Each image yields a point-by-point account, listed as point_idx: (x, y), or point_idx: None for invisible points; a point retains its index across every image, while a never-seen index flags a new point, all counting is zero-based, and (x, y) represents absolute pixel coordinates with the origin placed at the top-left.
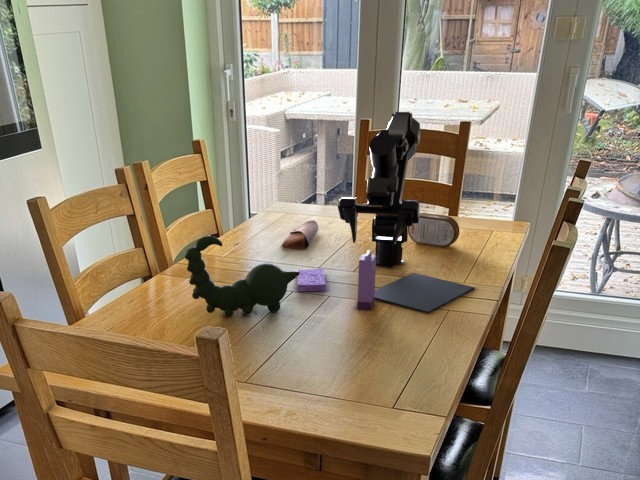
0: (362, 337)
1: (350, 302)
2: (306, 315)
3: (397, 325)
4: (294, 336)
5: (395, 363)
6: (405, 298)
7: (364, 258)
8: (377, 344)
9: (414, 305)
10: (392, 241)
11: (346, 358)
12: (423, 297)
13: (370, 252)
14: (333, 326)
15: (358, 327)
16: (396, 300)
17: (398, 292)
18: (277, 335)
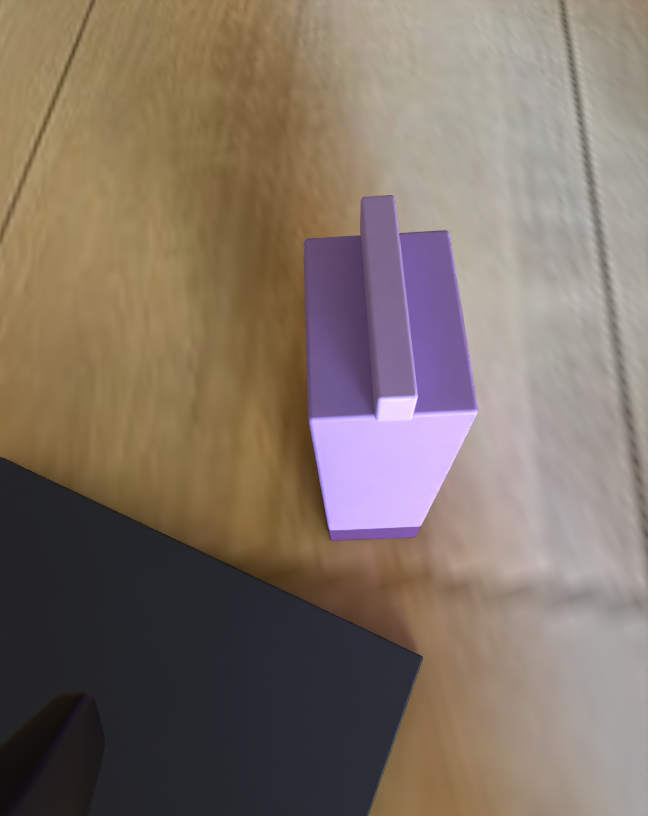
0: (295, 150)
1: (479, 525)
2: (629, 285)
3: (162, 286)
4: (561, 96)
5: (150, 25)
6: (131, 652)
7: (408, 277)
8: (226, 115)
9: (73, 534)
10: (73, 702)
11: (312, 15)
12: (5, 709)
13: (373, 359)
14: (447, 208)
15: (335, 225)
16: (189, 594)
17: (188, 780)
18: (630, 88)
